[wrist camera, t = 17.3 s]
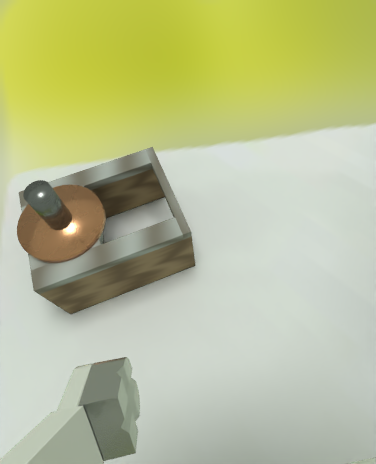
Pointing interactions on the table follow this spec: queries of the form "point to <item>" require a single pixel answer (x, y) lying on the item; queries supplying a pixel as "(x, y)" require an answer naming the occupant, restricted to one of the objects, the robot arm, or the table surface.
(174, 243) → the wood and metal frame
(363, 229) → the table surface
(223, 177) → the table surface
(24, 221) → the spinning top
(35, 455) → the robot arm
